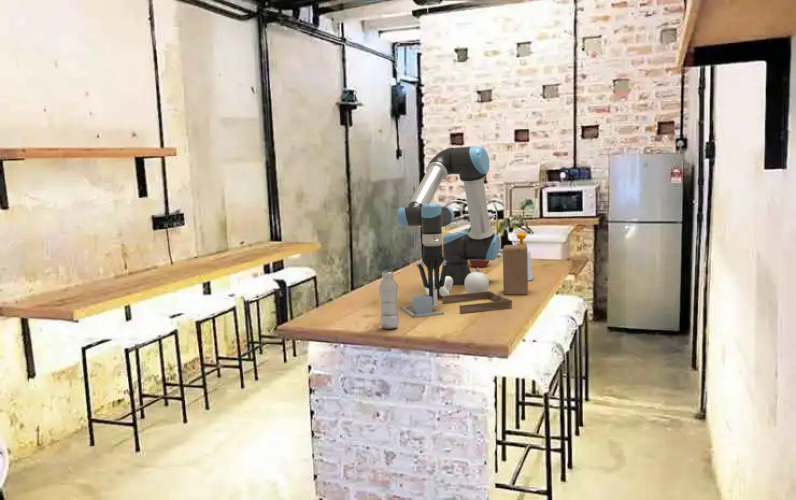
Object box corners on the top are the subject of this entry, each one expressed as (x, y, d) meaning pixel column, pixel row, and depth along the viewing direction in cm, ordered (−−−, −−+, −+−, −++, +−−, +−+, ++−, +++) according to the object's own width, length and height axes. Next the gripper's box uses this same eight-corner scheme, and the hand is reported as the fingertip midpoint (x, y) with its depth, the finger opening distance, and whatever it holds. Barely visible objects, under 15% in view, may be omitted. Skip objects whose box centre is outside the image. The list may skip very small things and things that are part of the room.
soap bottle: (531, 275, 315) (531, 230, 312) (532, 281, 301) (532, 233, 298) (511, 276, 316) (511, 230, 313) (511, 281, 303) (510, 233, 300)
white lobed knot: (456, 299, 269) (455, 278, 268) (427, 301, 269) (426, 279, 267) (452, 294, 280) (451, 273, 279) (424, 295, 280) (423, 275, 278)
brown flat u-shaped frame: (442, 303, 263) (442, 296, 263) (490, 298, 269) (490, 291, 268) (460, 313, 244) (460, 306, 244) (512, 308, 250) (511, 300, 249)
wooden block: (527, 295, 272) (527, 247, 269) (503, 295, 274) (502, 248, 271) (528, 290, 281) (527, 244, 279) (504, 290, 283) (503, 244, 281)
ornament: (491, 293, 278) (490, 265, 276) (486, 298, 268) (485, 270, 267) (467, 293, 281) (467, 265, 280) (462, 298, 272) (461, 269, 270)
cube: (412, 311, 252) (412, 295, 251) (427, 309, 254) (426, 294, 253) (417, 314, 246) (416, 298, 246) (432, 312, 248) (432, 297, 247)
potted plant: (496, 265, 348) (495, 200, 343) (479, 270, 337) (477, 202, 332) (470, 263, 360) (468, 199, 355) (452, 267, 348) (450, 201, 344)
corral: (401, 308, 256) (400, 306, 256) (429, 305, 260) (429, 303, 260) (413, 317, 241) (413, 315, 241) (443, 314, 244) (443, 312, 244)
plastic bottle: (379, 326, 230) (377, 270, 228) (398, 325, 231) (396, 269, 228) (380, 331, 224) (378, 273, 221) (400, 330, 225) (398, 272, 222)
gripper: (419, 247, 243) (421, 309, 246) (452, 244, 247) (453, 305, 250) (413, 244, 250) (415, 305, 253) (445, 242, 254) (447, 301, 257)
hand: (434, 305), depth 252 cm, fingers closed
